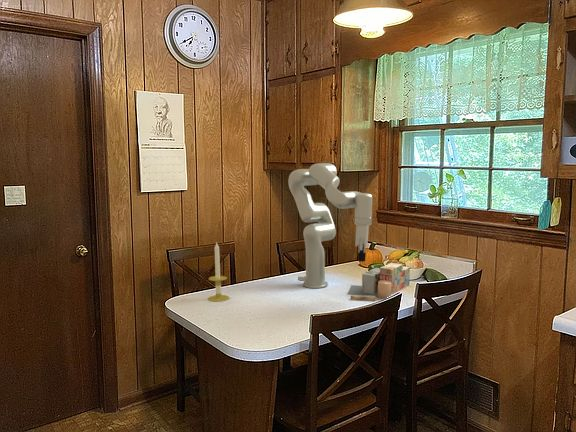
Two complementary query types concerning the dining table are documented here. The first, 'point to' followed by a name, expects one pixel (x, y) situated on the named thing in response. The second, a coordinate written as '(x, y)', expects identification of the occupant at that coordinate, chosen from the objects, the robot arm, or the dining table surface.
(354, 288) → the mat
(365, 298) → the stop strip
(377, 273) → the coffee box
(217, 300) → the candle
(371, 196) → the robot arm
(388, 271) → the stack of blocks
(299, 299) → the dining table surface
